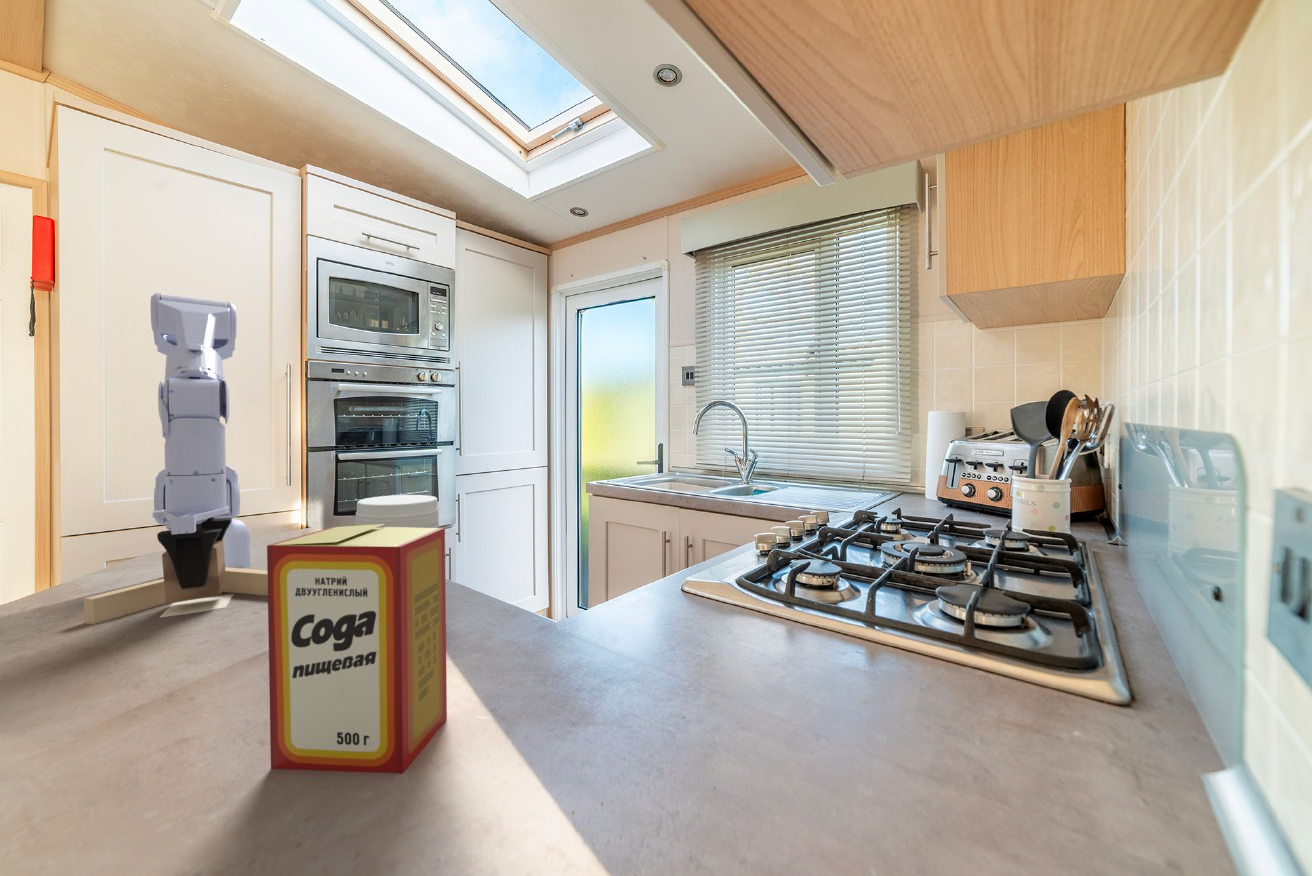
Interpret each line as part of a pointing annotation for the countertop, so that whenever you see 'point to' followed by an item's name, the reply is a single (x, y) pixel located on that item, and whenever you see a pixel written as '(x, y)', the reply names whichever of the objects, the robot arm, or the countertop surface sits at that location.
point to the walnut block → (211, 587)
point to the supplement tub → (398, 511)
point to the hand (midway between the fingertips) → (198, 581)
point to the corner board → (154, 595)
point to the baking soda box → (356, 647)
